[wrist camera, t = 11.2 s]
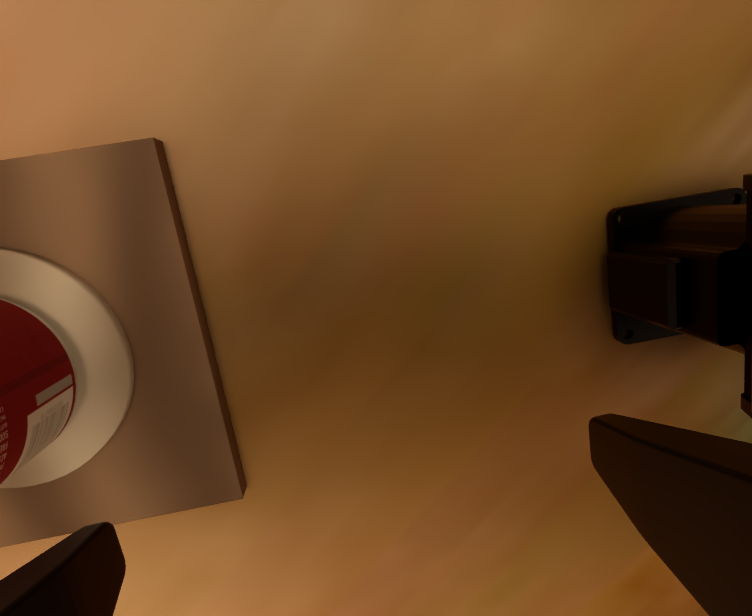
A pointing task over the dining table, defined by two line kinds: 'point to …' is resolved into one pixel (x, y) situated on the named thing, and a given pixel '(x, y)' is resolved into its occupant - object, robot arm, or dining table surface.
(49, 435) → the soda can
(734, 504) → the robot arm
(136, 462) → the walnut serving board
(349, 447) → the dining table surface
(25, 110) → the dining table surface
